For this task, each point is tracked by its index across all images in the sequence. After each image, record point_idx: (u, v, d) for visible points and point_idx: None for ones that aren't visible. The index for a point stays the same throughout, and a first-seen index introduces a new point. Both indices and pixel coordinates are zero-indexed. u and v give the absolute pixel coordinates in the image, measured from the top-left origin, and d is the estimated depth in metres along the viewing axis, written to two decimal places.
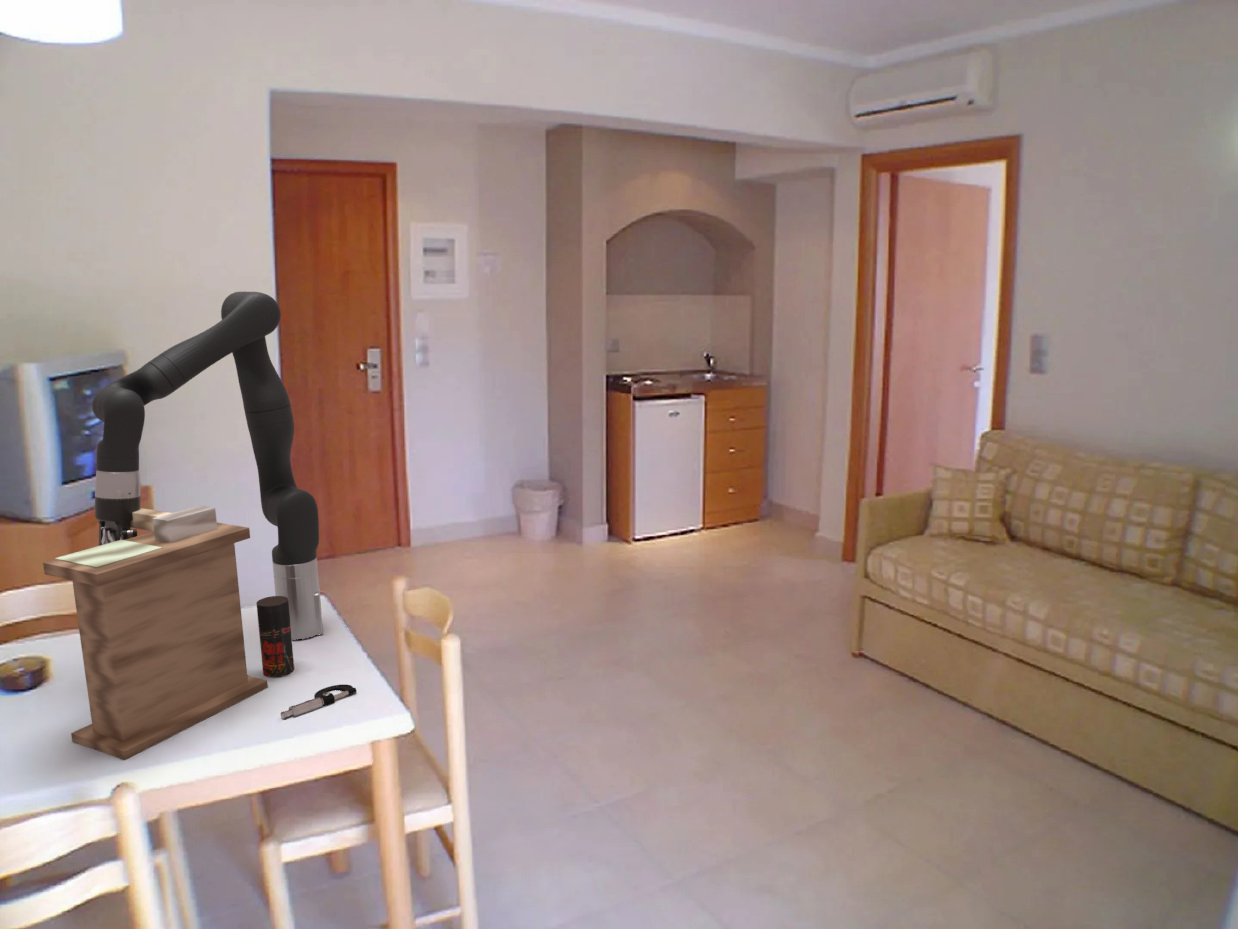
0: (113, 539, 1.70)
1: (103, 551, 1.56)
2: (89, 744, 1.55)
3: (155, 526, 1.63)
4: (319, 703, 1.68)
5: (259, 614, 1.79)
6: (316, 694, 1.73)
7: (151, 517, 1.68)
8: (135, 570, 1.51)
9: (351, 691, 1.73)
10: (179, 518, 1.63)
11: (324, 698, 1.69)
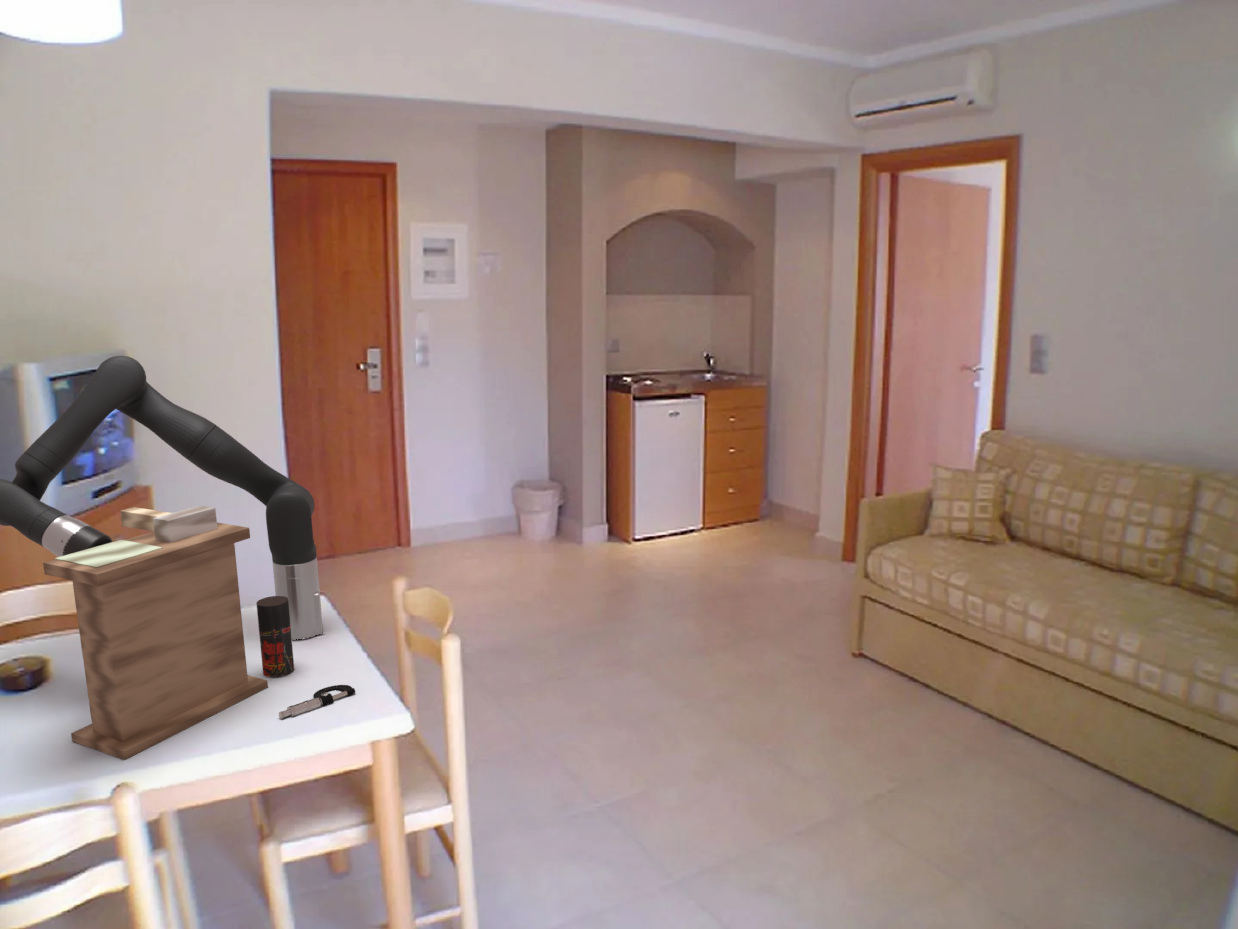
0: None
1: (103, 551, 1.56)
2: (89, 744, 1.55)
3: (155, 526, 1.63)
4: (317, 703, 1.68)
5: (259, 614, 1.79)
6: (315, 694, 1.73)
7: (151, 517, 1.68)
8: (135, 570, 1.51)
9: (350, 691, 1.73)
10: (179, 518, 1.63)
11: (322, 698, 1.69)
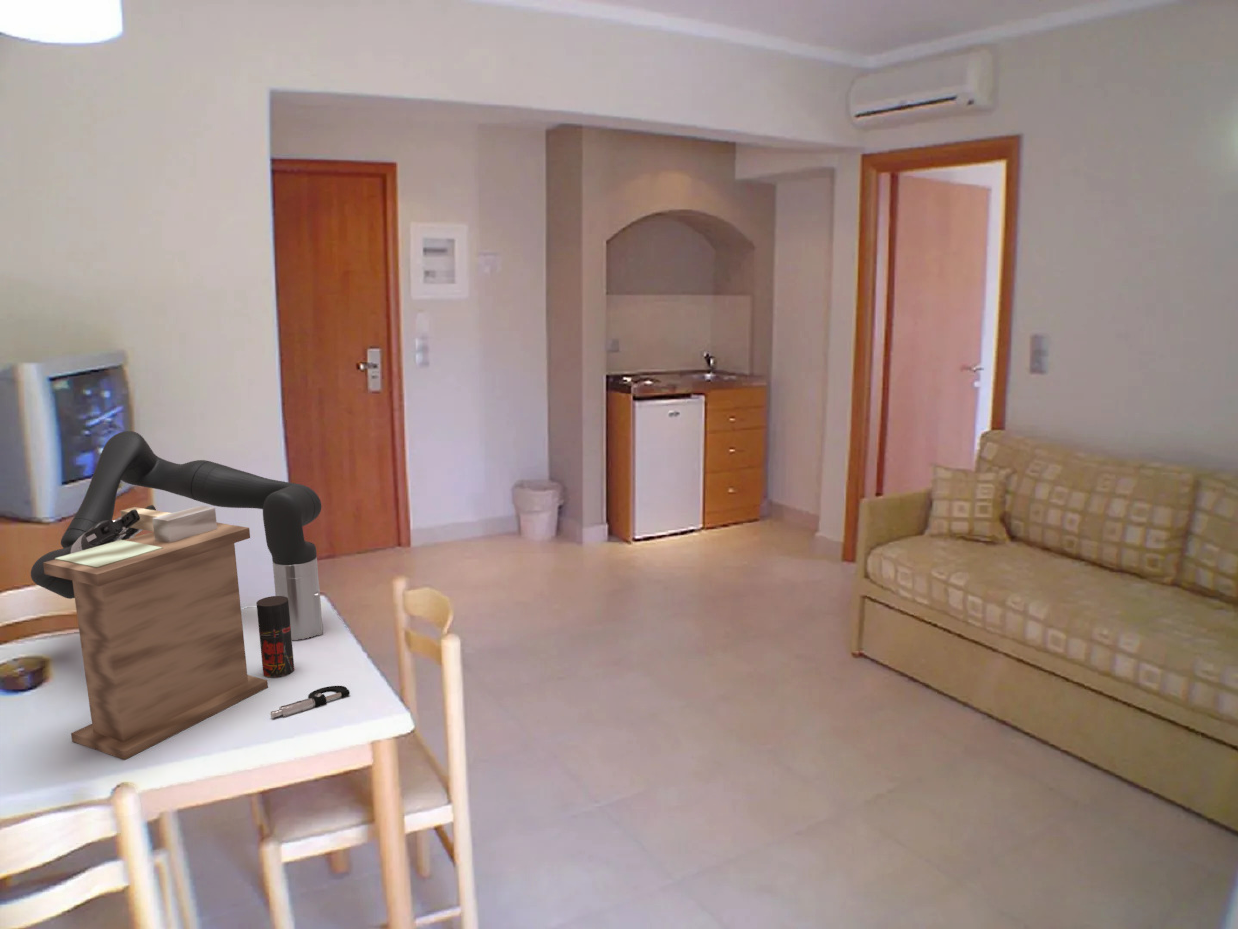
0: (115, 539, 1.74)
1: (103, 551, 1.56)
2: (89, 744, 1.55)
3: (155, 526, 1.63)
4: (310, 704, 1.68)
5: (259, 614, 1.79)
6: (310, 694, 1.73)
7: (151, 517, 1.68)
8: (135, 570, 1.51)
9: (344, 693, 1.72)
10: (179, 518, 1.63)
11: (315, 699, 1.69)
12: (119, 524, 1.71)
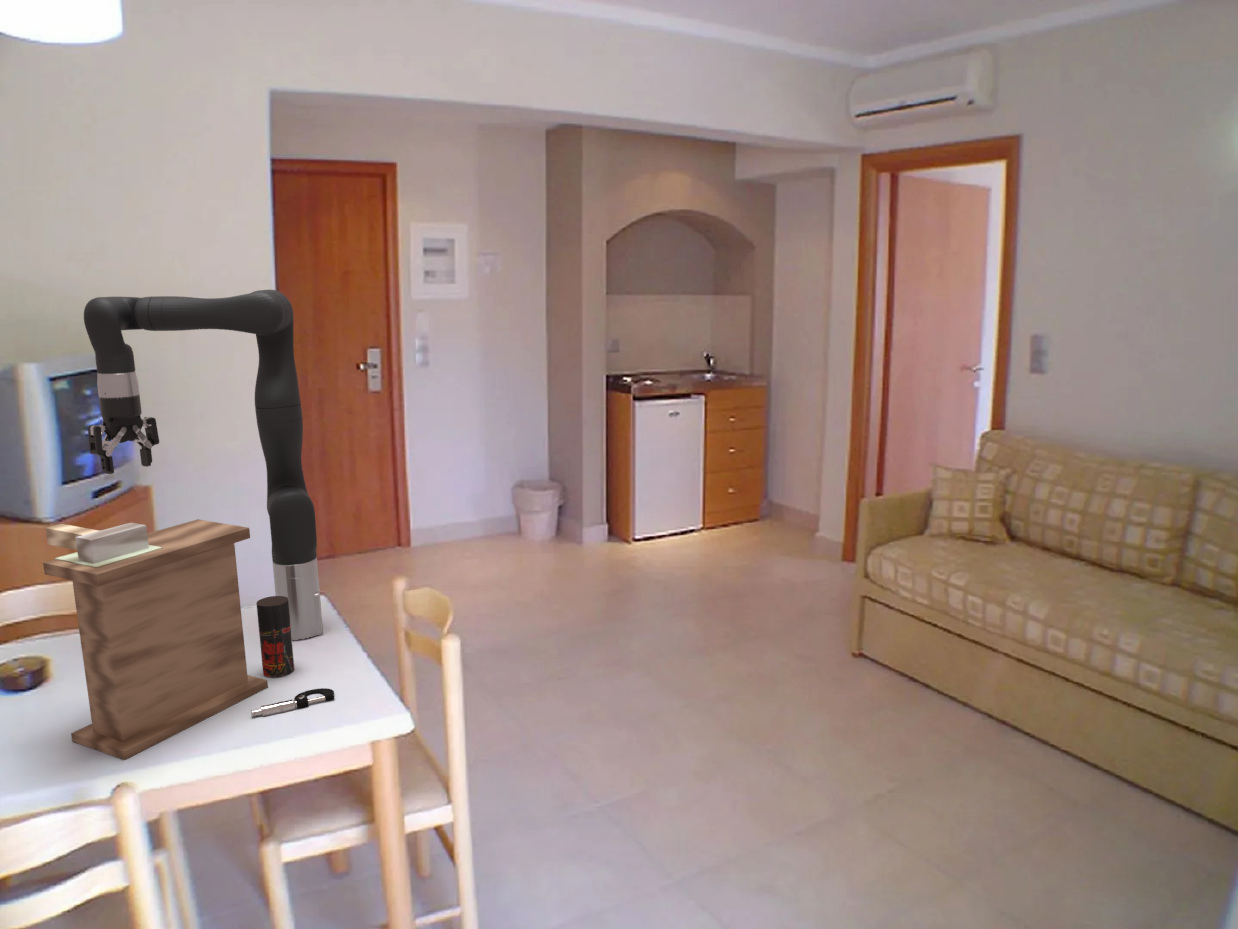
0: (107, 433, 1.91)
1: None
2: (89, 744, 1.55)
3: (78, 546, 1.51)
4: (291, 705, 1.67)
5: (259, 614, 1.79)
6: (297, 695, 1.73)
7: (76, 535, 1.56)
8: (135, 570, 1.51)
9: (328, 697, 1.71)
10: (104, 537, 1.51)
11: (297, 701, 1.68)
12: (100, 455, 1.88)
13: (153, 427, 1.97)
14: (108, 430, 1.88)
